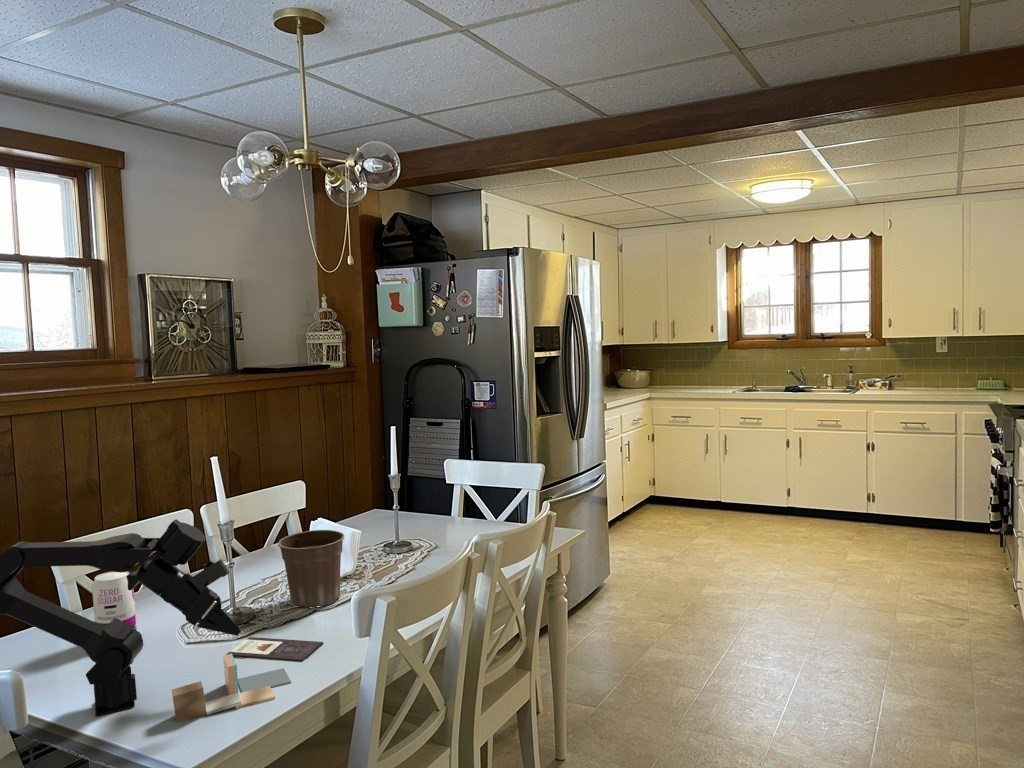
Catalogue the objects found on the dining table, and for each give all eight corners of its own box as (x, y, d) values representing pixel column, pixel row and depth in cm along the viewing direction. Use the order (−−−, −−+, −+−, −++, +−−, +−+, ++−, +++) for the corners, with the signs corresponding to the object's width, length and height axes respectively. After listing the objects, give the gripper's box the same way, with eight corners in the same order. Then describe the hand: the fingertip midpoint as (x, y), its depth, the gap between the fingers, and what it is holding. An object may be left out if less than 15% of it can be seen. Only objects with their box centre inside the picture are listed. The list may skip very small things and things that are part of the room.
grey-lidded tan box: (177, 724, 136) (173, 697, 136) (175, 714, 140) (171, 688, 139) (241, 704, 141) (238, 678, 141) (238, 695, 145) (234, 670, 144)
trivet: (242, 695, 146) (242, 693, 146) (237, 680, 152) (237, 679, 152) (291, 683, 150) (291, 681, 150) (283, 669, 156) (283, 668, 156)
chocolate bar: (302, 659, 160) (225, 654, 164) (302, 664, 160) (226, 658, 164) (323, 641, 169) (249, 637, 173) (323, 646, 169) (250, 641, 173)
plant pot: (299, 617, 185) (295, 551, 184) (271, 601, 197) (267, 539, 196) (359, 599, 196) (356, 537, 194) (328, 585, 208) (325, 526, 206)
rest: (236, 709, 141) (235, 706, 141) (231, 698, 145) (231, 695, 145) (275, 699, 144) (275, 696, 144) (270, 688, 148) (269, 685, 148)
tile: (229, 697, 145) (227, 667, 145) (225, 685, 151) (223, 655, 150) (238, 695, 146) (236, 665, 146) (233, 683, 152) (231, 653, 151)
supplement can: (129, 629, 181) (124, 567, 180) (142, 639, 175) (137, 574, 174) (91, 640, 175) (86, 576, 174) (103, 650, 169) (98, 584, 168)
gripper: (199, 545, 138) (270, 596, 141) (200, 549, 155) (263, 594, 158) (155, 598, 134) (228, 650, 136) (161, 596, 151) (226, 642, 153)
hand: (238, 631), depth 146 cm, fingers open, 9 cm apart
